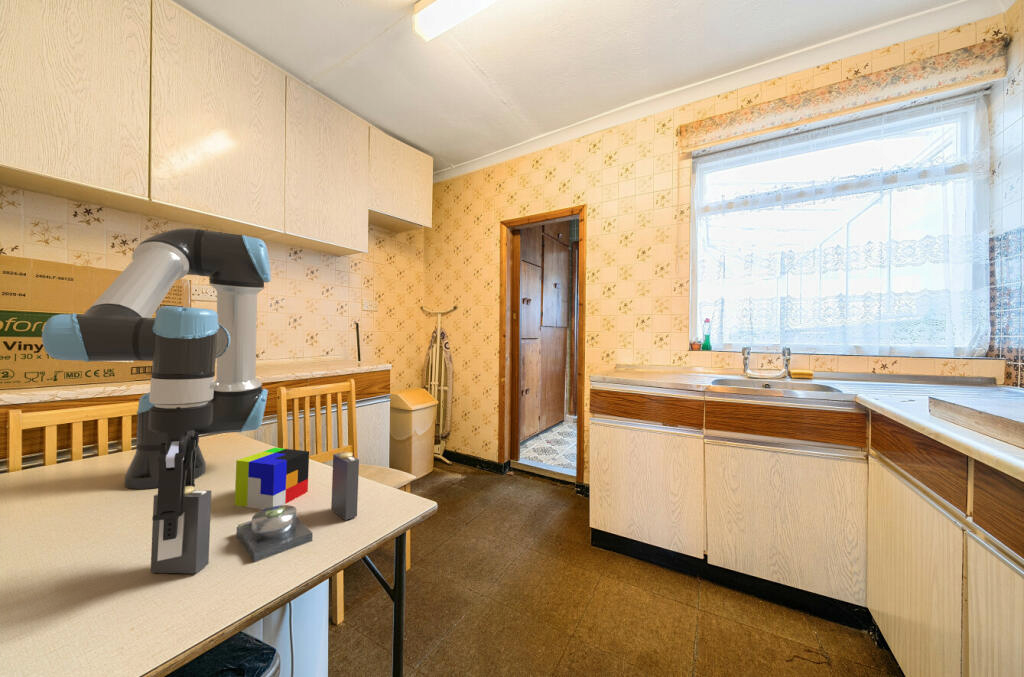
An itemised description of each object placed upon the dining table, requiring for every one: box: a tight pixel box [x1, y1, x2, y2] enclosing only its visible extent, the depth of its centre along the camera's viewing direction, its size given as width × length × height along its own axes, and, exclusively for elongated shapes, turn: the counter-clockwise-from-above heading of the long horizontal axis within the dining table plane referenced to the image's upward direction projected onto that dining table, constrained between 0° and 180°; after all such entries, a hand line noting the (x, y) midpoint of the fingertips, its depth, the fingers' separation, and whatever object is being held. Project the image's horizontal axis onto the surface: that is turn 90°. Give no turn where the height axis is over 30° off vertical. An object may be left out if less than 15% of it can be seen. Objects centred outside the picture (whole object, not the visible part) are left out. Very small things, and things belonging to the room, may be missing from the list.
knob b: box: [330, 451, 360, 521], centre depth 77 cm, size 7×3×13 cm, turn 49°
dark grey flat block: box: [150, 486, 212, 574], centre depth 57 cm, size 7×3×13 cm, turn 91°
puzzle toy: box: [234, 447, 310, 510], centre depth 83 cm, size 10×10×10 cm
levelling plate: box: [235, 504, 313, 563], centre depth 67 cm, size 12×9×5 cm
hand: (174, 547), depth 57 cm, fingers closed on dark grey flat block, 5 cm apart
